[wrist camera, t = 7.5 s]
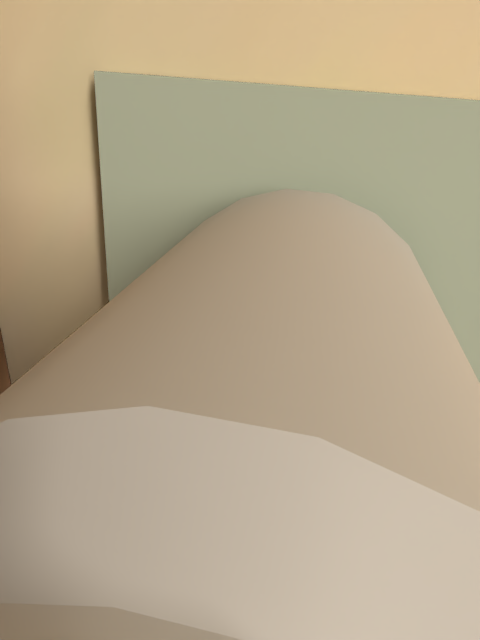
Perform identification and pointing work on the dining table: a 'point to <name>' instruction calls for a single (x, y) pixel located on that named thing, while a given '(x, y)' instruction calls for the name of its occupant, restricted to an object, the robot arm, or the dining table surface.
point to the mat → (291, 170)
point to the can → (249, 446)
